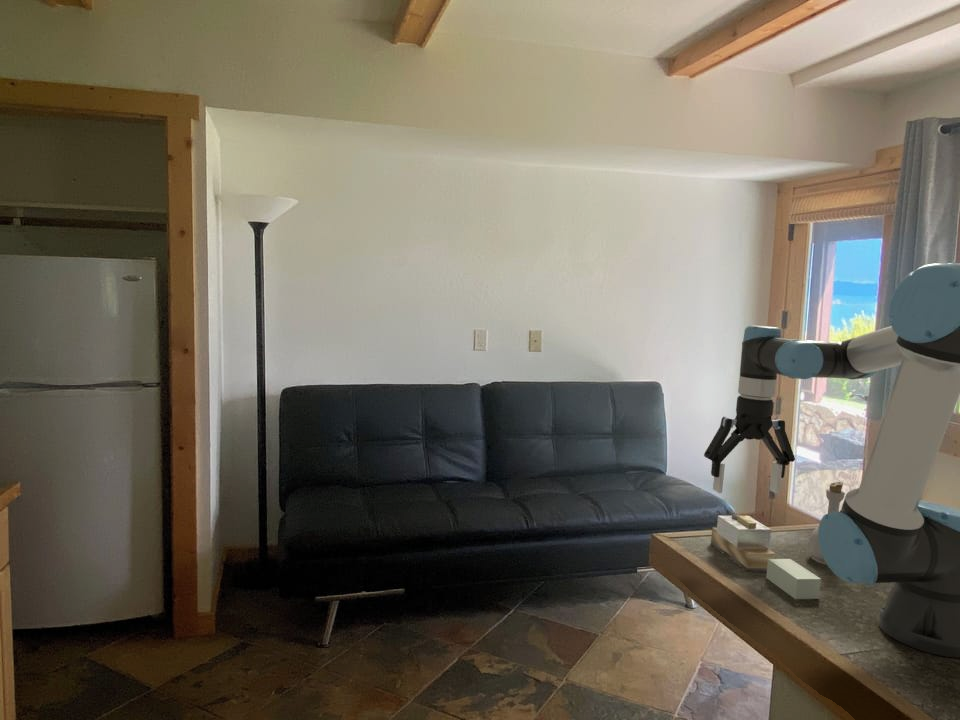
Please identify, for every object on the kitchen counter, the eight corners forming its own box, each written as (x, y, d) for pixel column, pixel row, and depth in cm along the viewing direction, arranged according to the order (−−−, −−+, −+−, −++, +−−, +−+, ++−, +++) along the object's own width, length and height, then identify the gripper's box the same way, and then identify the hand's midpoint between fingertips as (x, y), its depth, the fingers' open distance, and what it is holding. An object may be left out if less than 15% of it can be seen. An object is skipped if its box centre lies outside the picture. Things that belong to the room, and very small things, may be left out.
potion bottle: (858, 569, 150) (867, 488, 149) (817, 566, 150) (825, 486, 149) (838, 554, 159) (846, 478, 157) (799, 551, 159) (807, 475, 157)
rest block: (818, 598, 134) (821, 578, 133) (795, 599, 133) (797, 579, 132) (788, 577, 143) (790, 558, 143) (766, 577, 143) (768, 559, 142)
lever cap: (769, 547, 149) (771, 524, 149) (737, 547, 148) (739, 524, 148) (747, 532, 158) (749, 511, 158) (716, 532, 157) (718, 511, 156)
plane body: (773, 571, 146) (775, 553, 146) (747, 571, 145) (749, 553, 145) (734, 544, 162) (736, 527, 161) (710, 544, 161) (712, 527, 160)
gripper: (797, 395, 156) (787, 487, 158) (694, 392, 152) (685, 485, 154) (818, 401, 148) (807, 497, 151) (710, 397, 144) (701, 496, 147)
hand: (746, 491), depth 152 cm, fingers open, 13 cm apart
